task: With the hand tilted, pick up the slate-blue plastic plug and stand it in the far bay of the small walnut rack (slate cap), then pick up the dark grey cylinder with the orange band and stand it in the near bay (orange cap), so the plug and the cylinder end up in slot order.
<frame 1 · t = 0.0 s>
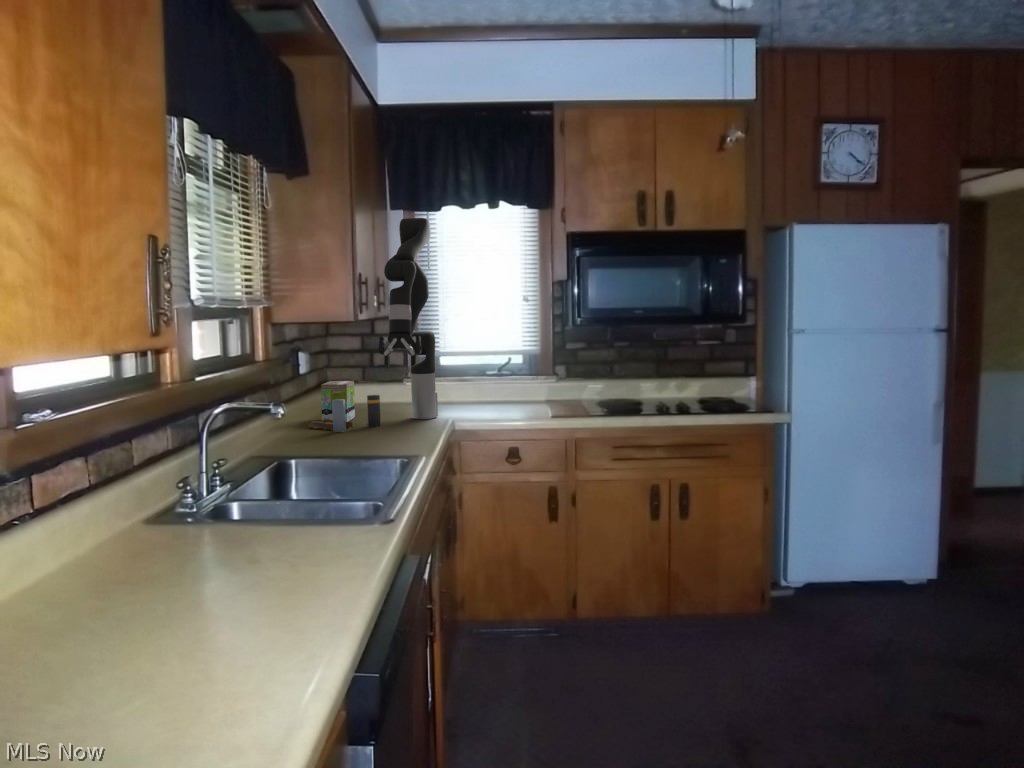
hand: (400, 367, 275), 22 cm above the worktop, tool pointing down, fingers open, 8 cm apart
dark grey cylinder: (374, 425, 294), on the worktop
tea box: (339, 421, 310), on the worktop
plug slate: (339, 431, 282), on the worktop
rack: (332, 427, 291), on the worktop
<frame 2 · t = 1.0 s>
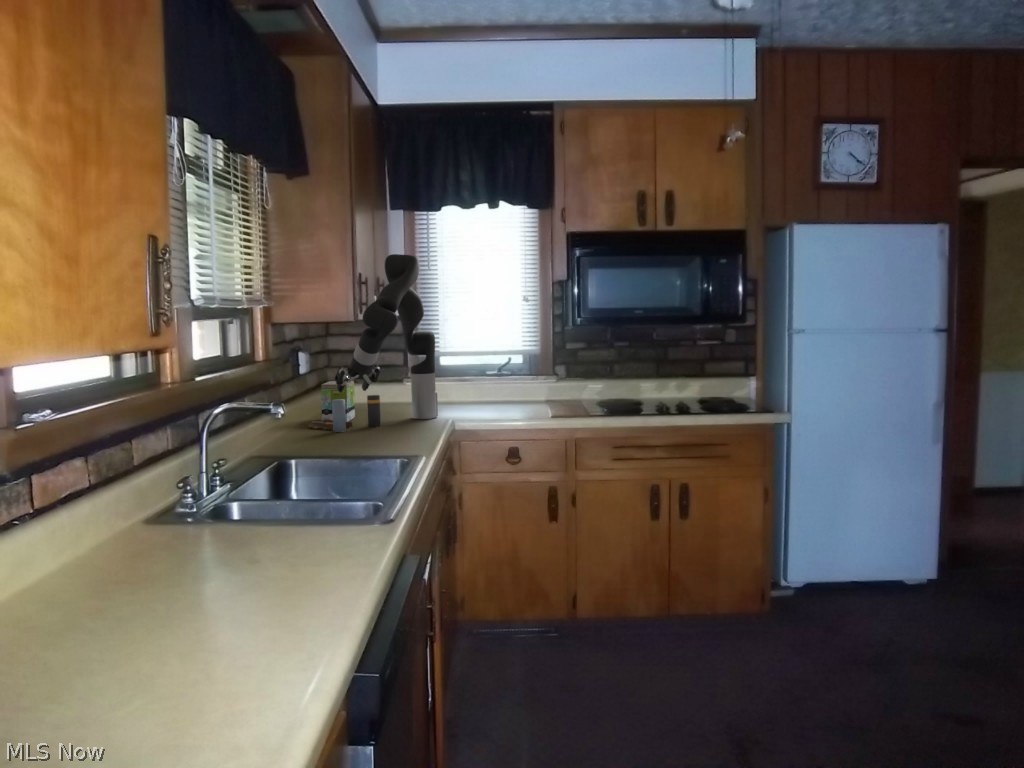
hand: (351, 389, 271), 15 cm above the worktop, tool tilted 45°, fingers open, 8 cm apart
nothing on the worktop moved.
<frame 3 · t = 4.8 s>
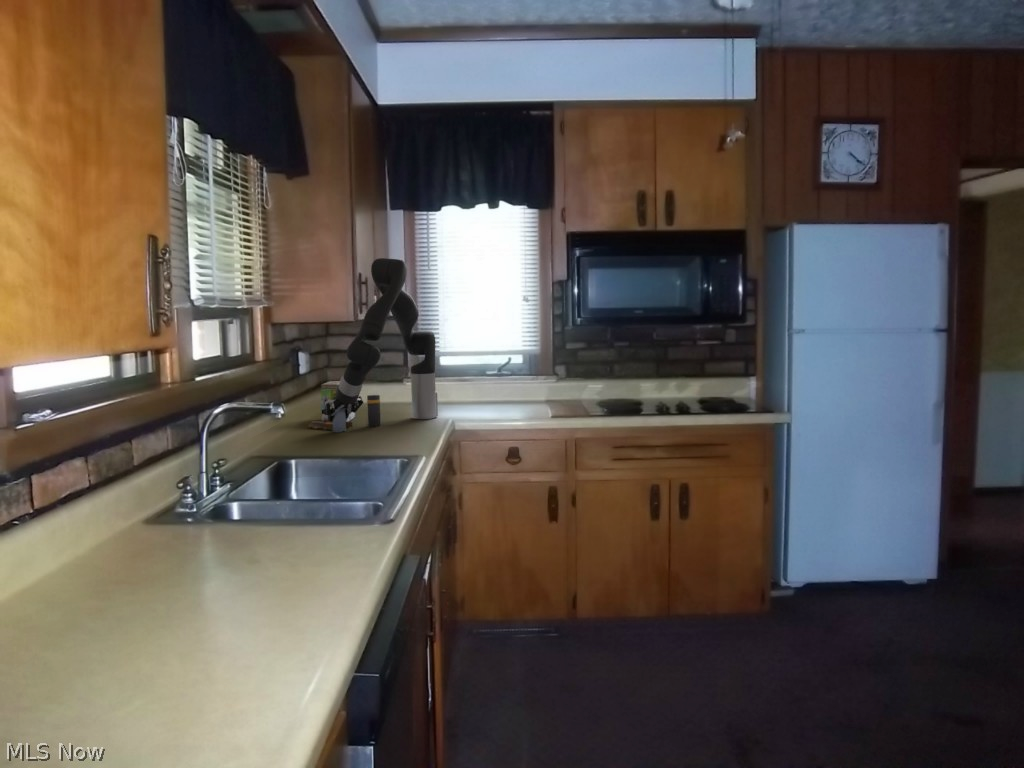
hand: (336, 419, 283), 4 cm above the worktop, tool tilted 45°, fingers closed on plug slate, 4 cm apart
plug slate: (339, 431, 282), on the worktop, touching gripper
everything else where it was.
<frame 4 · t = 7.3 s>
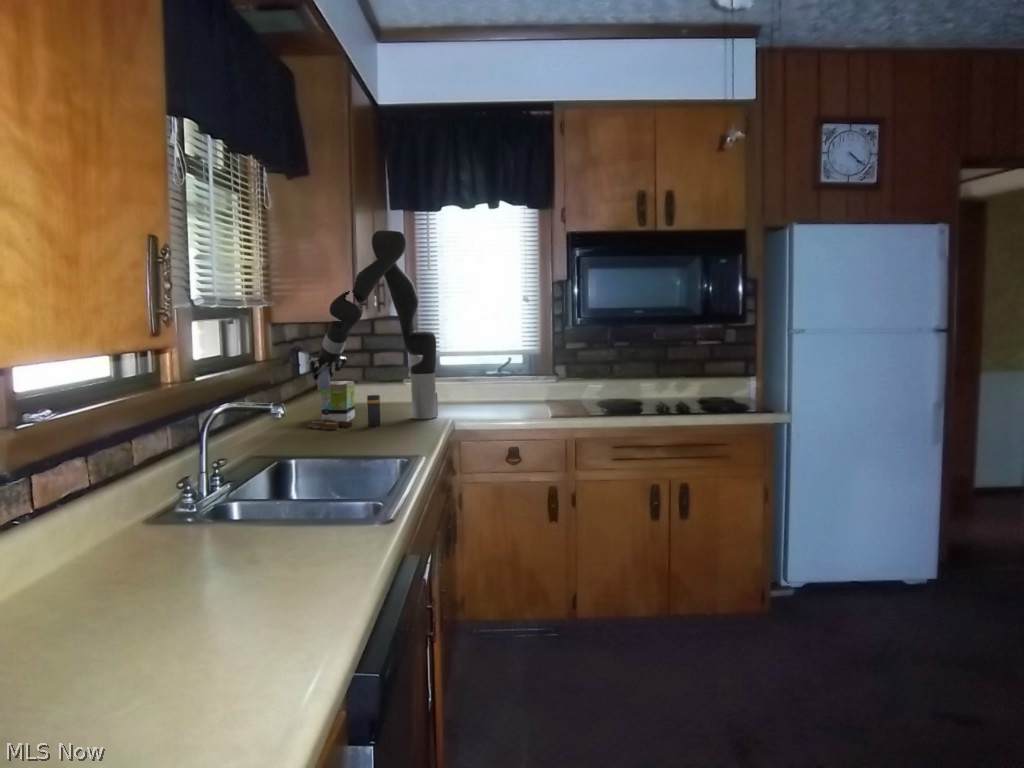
hand: (321, 377, 293), 18 cm above the worktop, tool tilted 45°, fingers closed on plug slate, 4 cm apart
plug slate: (324, 389, 292), point 14 cm above the worktop, touching gripper
everything else where it was.
when the fingers open (6 cm above the worktop, at t = 9.7 s): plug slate drops 2 cm, resting in rack.
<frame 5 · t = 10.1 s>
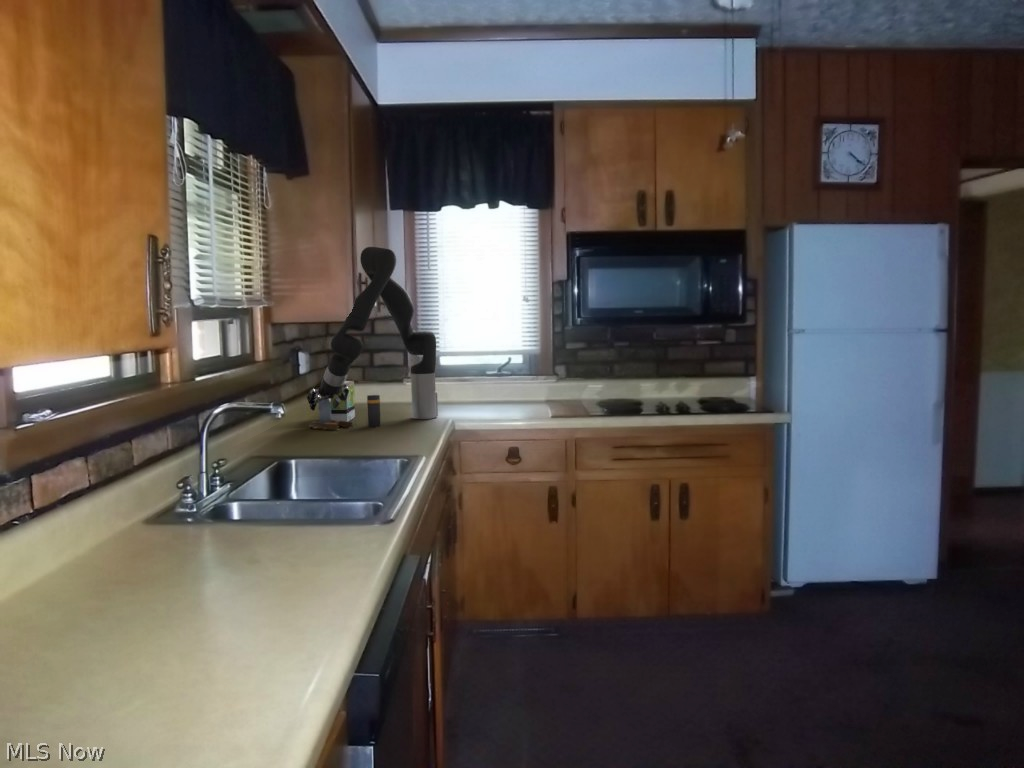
hand: (323, 407, 294), 7 cm above the worktop, tool tilted 45°, fingers open, 8 cm apart
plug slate: (325, 427, 293), resting in rack
everything else where it was.
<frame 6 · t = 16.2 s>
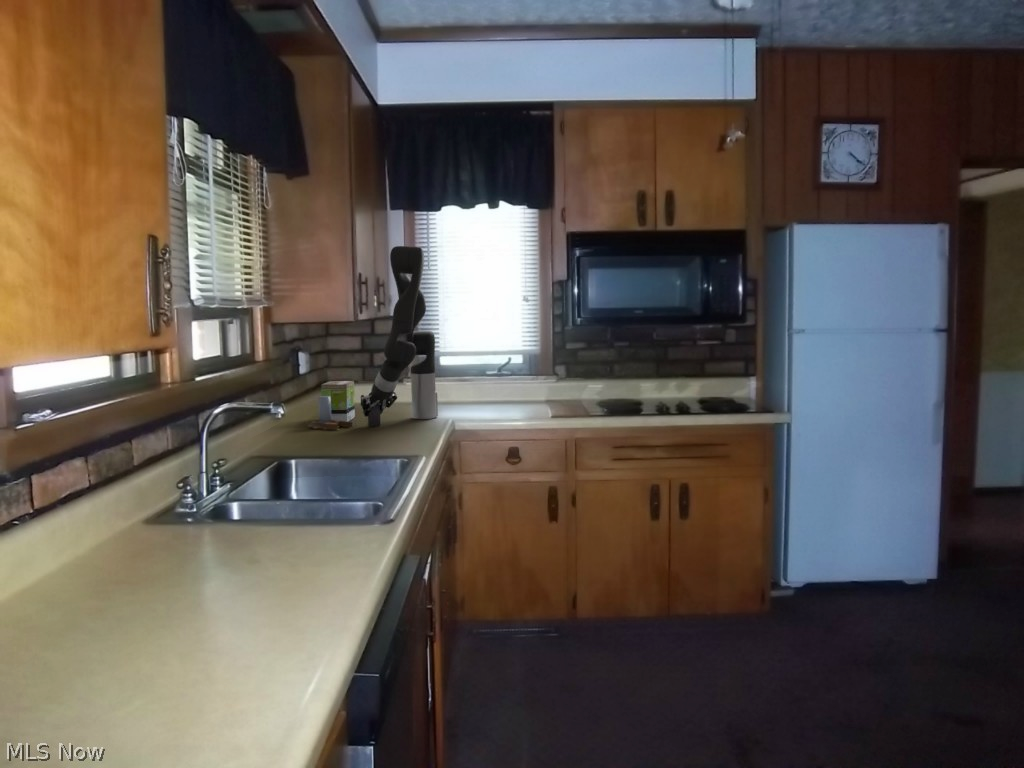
hand: (371, 414, 295), 4 cm above the worktop, tool tilted 45°, fingers closed on dark grey cylinder, 4 cm apart
dark grey cylinder: (374, 425, 294), on the worktop, touching gripper
everything else where it was.
when the fingers open (6 cm above the worktop, at t = 20.9 s): dark grey cylinder drops 2 cm, resting in rack.
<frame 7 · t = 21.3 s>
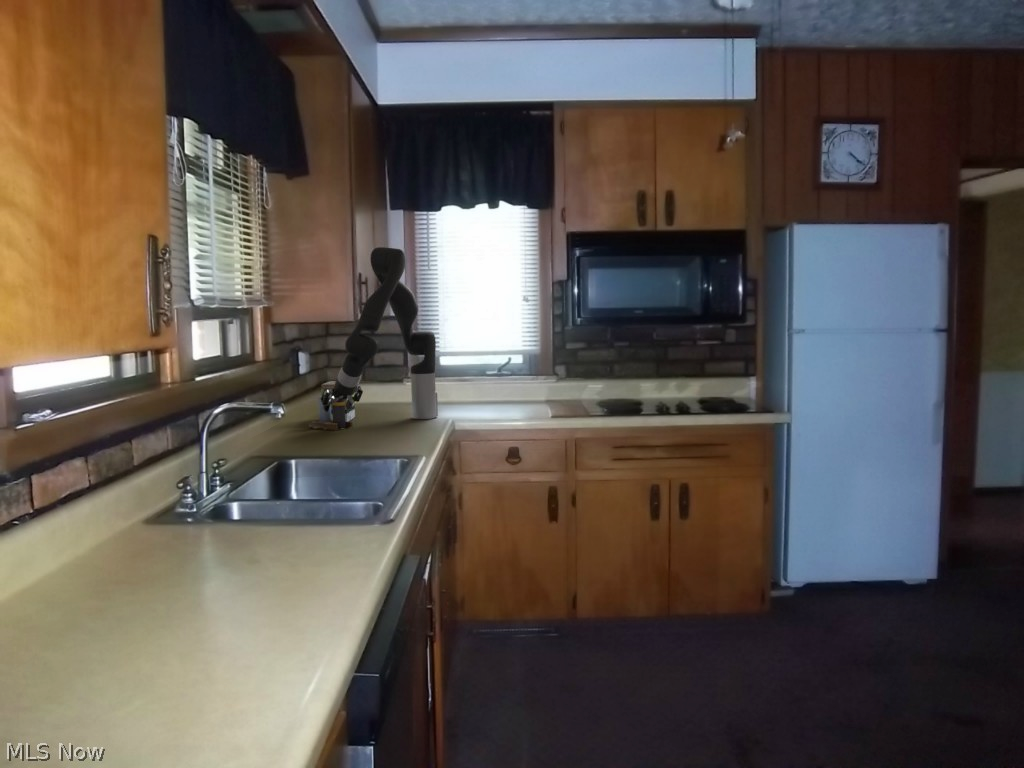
hand: (336, 408, 290), 7 cm above the worktop, tool tilted 45°, fingers open, 7 cm apart
dark grey cylinder: (339, 428, 289), resting in rack
everything else where it was.
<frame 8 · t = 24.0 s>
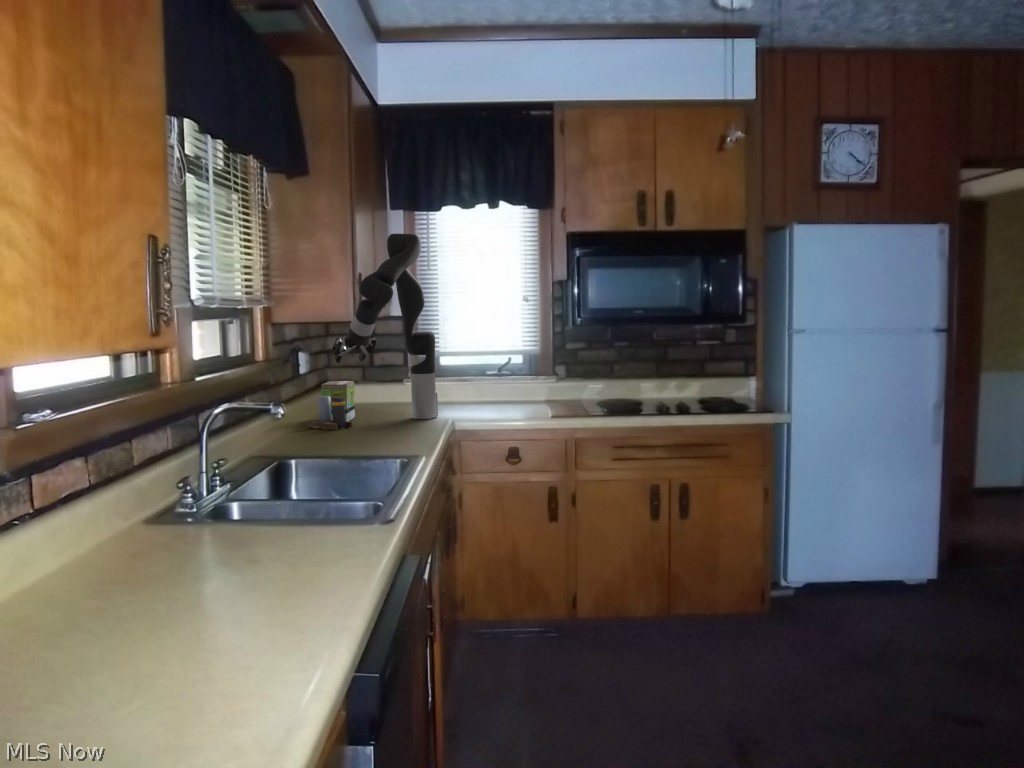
hand: (348, 360, 278), 25 cm above the worktop, tool tilted 45°, fingers open, 8 cm apart
nothing on the worktop moved.
at the end: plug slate 0.2 cm from the target spot on the rack, point 0.0 cm above the rack's base; dark grey cylinder 0.3 cm from the target spot on the rack, point 0.0 cm above the rack's base; dark grey cylinder tilted 0° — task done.
